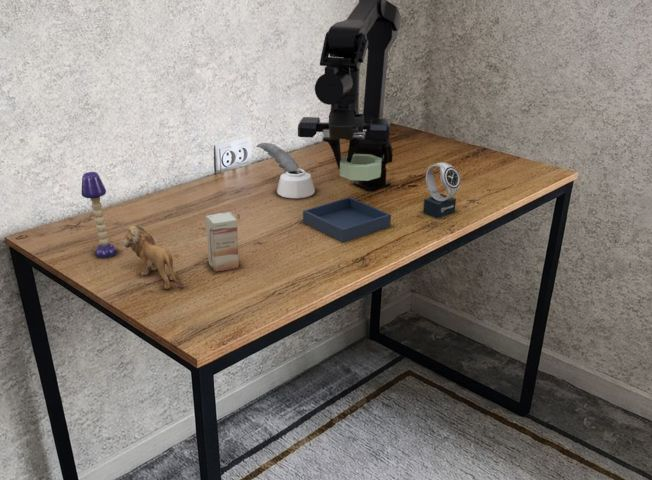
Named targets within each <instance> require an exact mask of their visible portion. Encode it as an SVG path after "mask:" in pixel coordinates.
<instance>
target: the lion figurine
mask: <svg viewBox="0 0 652 480" xmlns="http://www.w3.org/2000/svg"><path fill="white" fill-rule="evenodd" d="M127 229H128V231H127V233H126V234H125V236H124V237H123V238H122V239H121V240H120V242H121V243H122V244H123V245H124V247H125V249H129V248H130V249H131V251H132V252H134V253H135V254H136V257H138V258H139V261H140V264H141V267H142V269H143V270H142V271H141V272H140V275H141V276H147V275H149V272H150V271H149V267H148V261H149V262H150V263H151V266H150V270H151V271H156V270H157V271H158V273H159V275H160V276H161V278H162V279H163V281H164V283H165V284H164V285H163V289H164V290H169V289H171V281H174V282H175V283H176V284H177V285H178V286H179V287H184V286H185V284H184V283H182V282H181V281H180V280H178V279H177V278H176V274H175V271H174V259H173V256H172V254H171V252H170V251H169V249H167V248H166V247H162V246H160V245H159V244H157V243H156V242H155V240H154V238H153V236H152V235H151V233H149V232H148V231H147V230H145V229H144V228H143V227H141V226H139V225H131V226H128V227H127ZM166 267H167V268H168V271H169V277H168V275H167V273H166V269H165V268H166ZM170 280H171V281H170Z"/></svg>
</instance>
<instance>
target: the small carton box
mask: <svg viewBox="0 0 652 480" xmlns="http://www.w3.org/2000/svg"><path fill="white" fill-rule="evenodd" d="M205 221H206V239H207V240H206V241H207V258H208V264H209V266H210V267H211V268H212V270H213V271H214V272H222V271H228V270H234V269H238V268H239V267H240V266H239V265H240V264H239V263H240V261H239V237H238V235H239V233H238V219H237V217H236V216H235V215H234V214H233V213H232V212H231V211H226V212H219V213H214V214H207V215H205Z"/></svg>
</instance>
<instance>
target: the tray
mask: <svg viewBox="0 0 652 480" xmlns="http://www.w3.org/2000/svg"><path fill="white" fill-rule="evenodd" d="M391 220H392V214H390V213H388V212H386V211H384V210H381V209H379V208H377V207H374V206H373V205H370V204H367V203H365V202H362V201H360V200H358V199H356V198H353V197H351V196H348V197H344V198H340V199H337V200H334V201H331V202H327V203H324V204H321V205H316V206H314V207H311V208H307V209H304V210H302V223H304V224H305V225H308V226H310V227H311V228H314V229H316V230H317V231H320V232H322V233H324V234H325V235H328V236H329V237H332V238H333V239H336V240H338V241H340V242H341V243H345V242H347V241H350V240H351V241H352V240H354V239H357V238H359V237H363V236H365V235H369V234H372V233H374V232H377V231H380V230H384V229H387V228H390V227H391Z"/></svg>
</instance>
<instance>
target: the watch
mask: <svg viewBox="0 0 652 480" xmlns="http://www.w3.org/2000/svg"><path fill="white" fill-rule="evenodd" d="M437 167H439V172H440V182H441V185H442V187H443V188H444V189H445V191H446V194H444V193H439V189H438V187H437V183H436V179H435V178H436V177H435V176H434V172H435V169H436V168H437ZM424 178H425V185H426V188H427V191H428V194H429V195H430V197H428V198H424V200H423V212H422V213H423V214H425V215H428V216H430V217H433V218H436V219H440V218H443V217H445V216H448V215H451V214H453V213H455V212H456V202H457V198H455V196H456V195H457V192H458V191H459V188H460V186H461V182H462V181H461V180H462V178H461V174H460V172H459V170H458V169H457V168H455V167H454V166H453V165H451V164H450V163H447V162H445V161H442V162H437V163H435V164H432V165H430V166H429V167H428V168H427V170H426V171H425V177H424Z"/></svg>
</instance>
